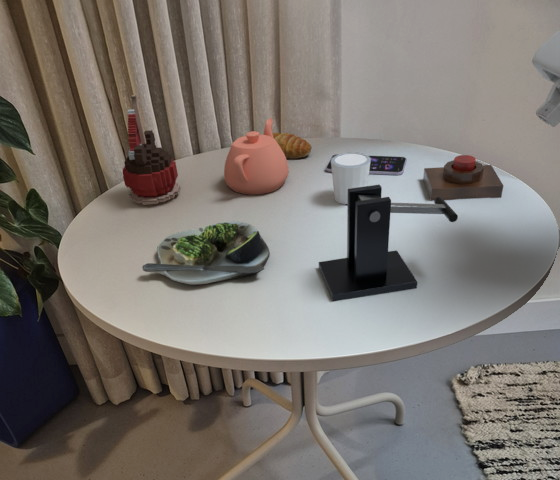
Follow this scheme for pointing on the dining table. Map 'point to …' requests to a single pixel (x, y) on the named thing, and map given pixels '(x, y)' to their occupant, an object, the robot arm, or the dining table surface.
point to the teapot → (256, 163)
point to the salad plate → (211, 253)
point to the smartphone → (382, 165)
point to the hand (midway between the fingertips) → (543, 120)
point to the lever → (419, 207)
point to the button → (464, 163)
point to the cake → (147, 164)
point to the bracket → (367, 252)
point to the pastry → (292, 145)
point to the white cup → (349, 173)
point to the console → (462, 182)
